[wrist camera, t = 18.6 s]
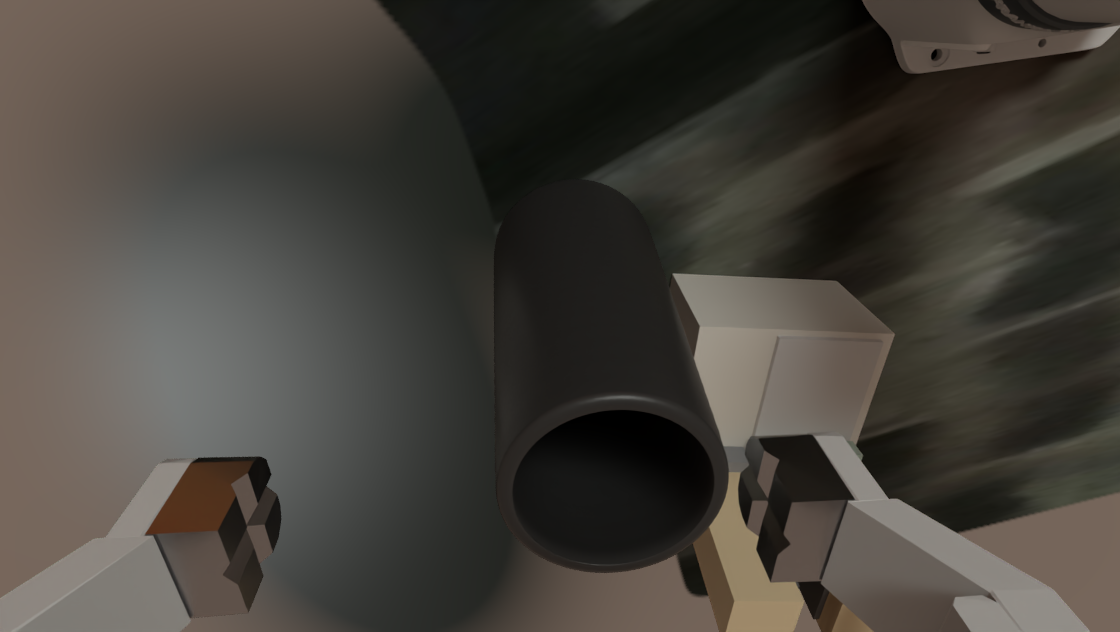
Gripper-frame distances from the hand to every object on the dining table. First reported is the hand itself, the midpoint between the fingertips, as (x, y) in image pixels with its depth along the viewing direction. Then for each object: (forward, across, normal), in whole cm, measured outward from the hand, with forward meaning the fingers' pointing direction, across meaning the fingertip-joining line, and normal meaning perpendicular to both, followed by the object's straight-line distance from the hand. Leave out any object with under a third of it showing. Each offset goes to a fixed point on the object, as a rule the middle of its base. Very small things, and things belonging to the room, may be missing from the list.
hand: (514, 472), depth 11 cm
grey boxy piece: (+40, +21, -26) cm, 52 cm away
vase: (+41, +5, -14) cm, 44 cm away
